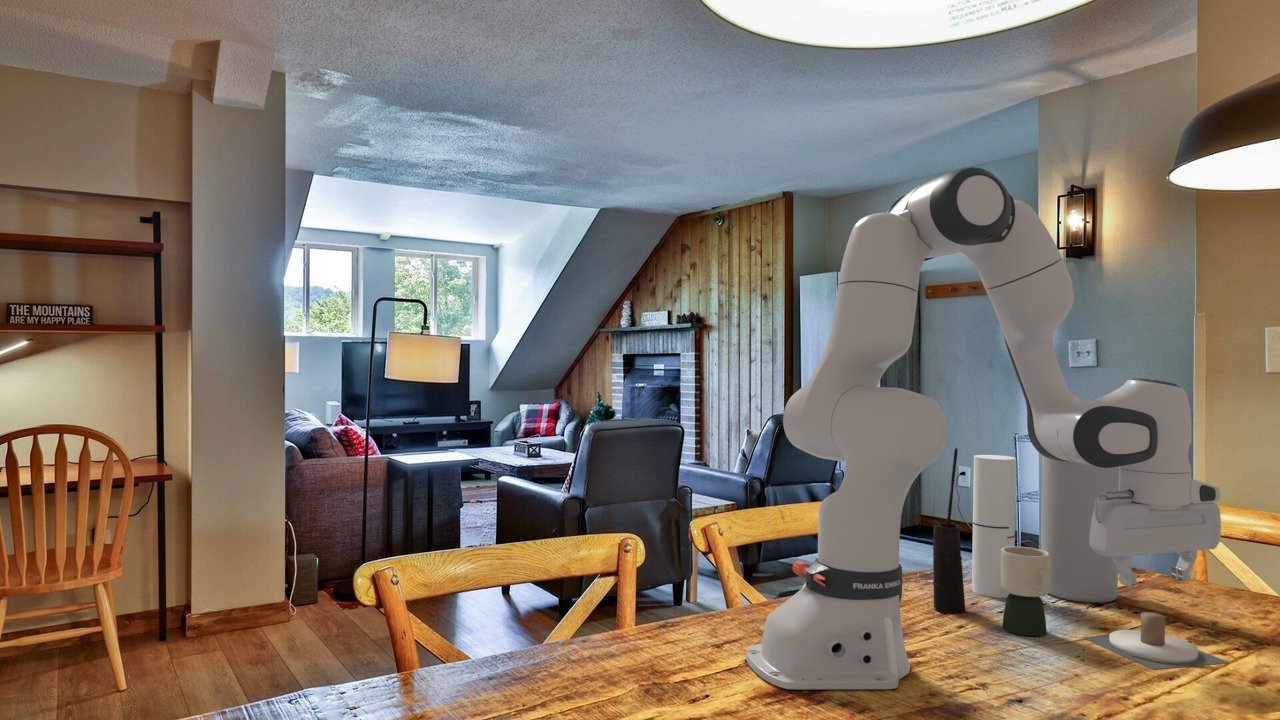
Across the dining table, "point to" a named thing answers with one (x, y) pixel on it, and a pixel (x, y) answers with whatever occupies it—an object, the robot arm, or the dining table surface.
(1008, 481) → the cylindrical container
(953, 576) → the butter churn
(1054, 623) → the dining table surface
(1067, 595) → the cylinder vase
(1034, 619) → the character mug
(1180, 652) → the lid
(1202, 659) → the mat
